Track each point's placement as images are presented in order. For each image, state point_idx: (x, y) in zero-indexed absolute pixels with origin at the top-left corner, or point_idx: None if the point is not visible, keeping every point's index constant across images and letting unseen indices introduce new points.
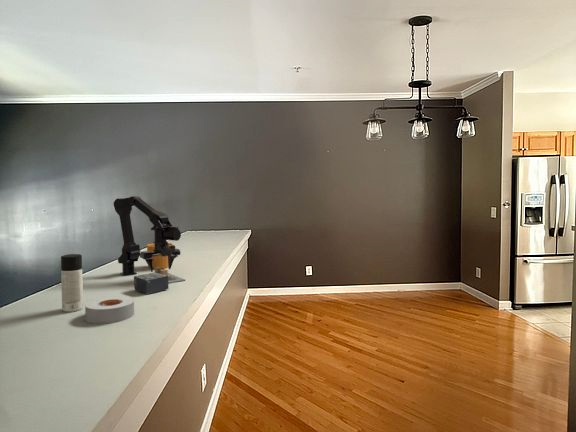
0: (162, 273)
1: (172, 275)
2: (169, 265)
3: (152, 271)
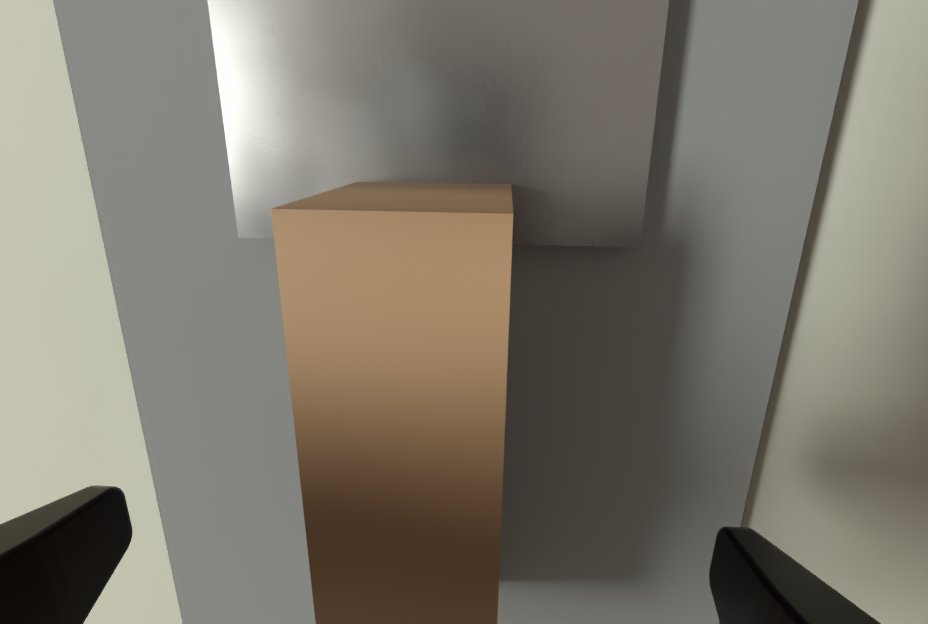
0: (508, 202)
1: (166, 362)
2: (5, 601)
3: (726, 529)
